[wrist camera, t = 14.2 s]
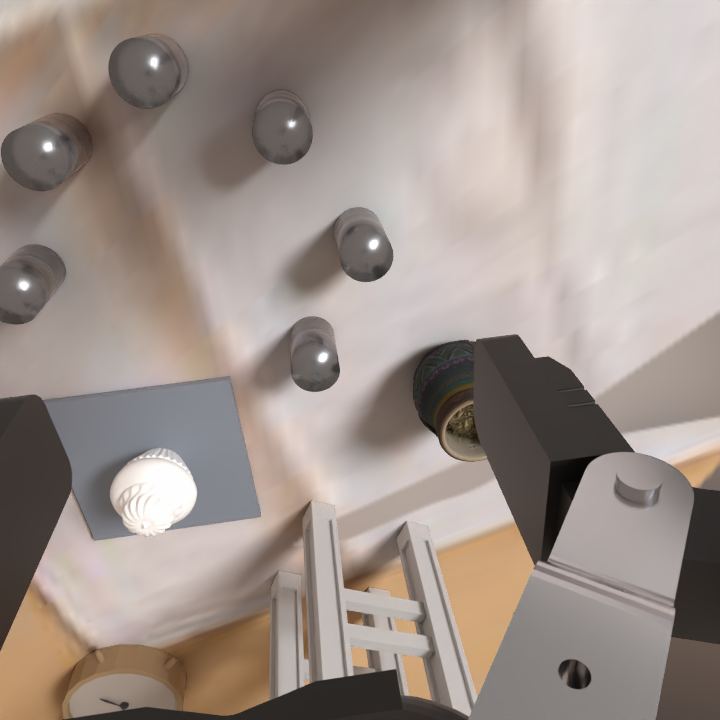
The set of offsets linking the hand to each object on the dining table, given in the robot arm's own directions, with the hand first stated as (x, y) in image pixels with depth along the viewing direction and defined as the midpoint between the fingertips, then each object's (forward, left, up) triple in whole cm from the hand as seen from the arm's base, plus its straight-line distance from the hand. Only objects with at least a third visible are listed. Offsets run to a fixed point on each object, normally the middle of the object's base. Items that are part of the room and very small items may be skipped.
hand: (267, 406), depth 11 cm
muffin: (+13, +24, -29) cm, 40 cm away
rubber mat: (+13, +24, -30) cm, 40 cm away
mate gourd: (-11, +19, -30) cm, 37 cm away
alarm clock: (+23, +52, -30) cm, 65 cm away
